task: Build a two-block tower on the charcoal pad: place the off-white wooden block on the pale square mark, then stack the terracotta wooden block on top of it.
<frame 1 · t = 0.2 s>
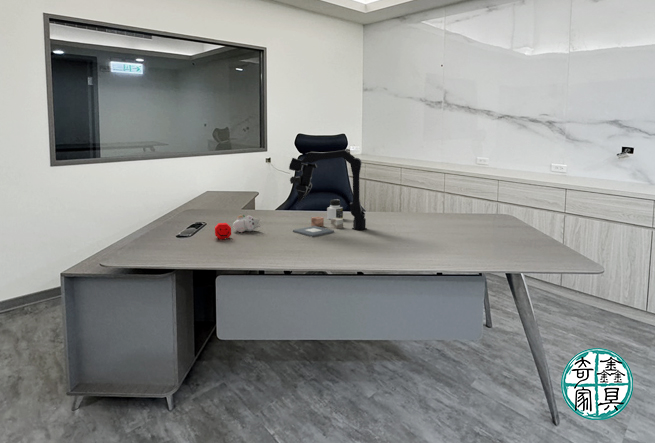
hand: (300, 200, 280), 15 cm above the table, tool pointing down, fingers open, 9 cm apart
off-white block: (336, 227, 284), on the table
ball: (223, 238, 257), on the table
blueprint pad: (313, 232, 271), on the table
medicine bottle: (334, 219, 307), on the table
terracotta block: (317, 226, 287), on the table
cat figurine: (246, 231, 272), on the table
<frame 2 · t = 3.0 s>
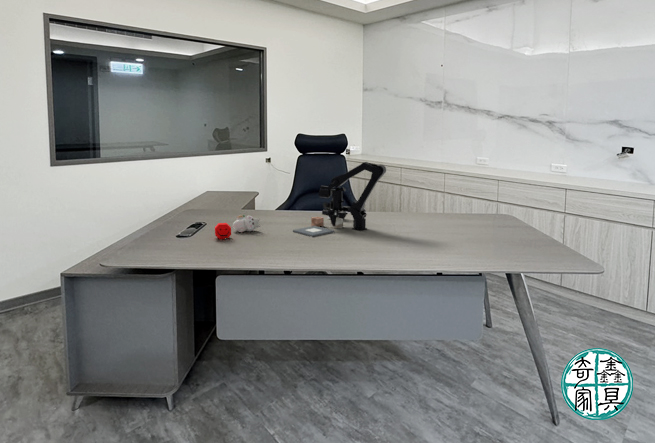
hand: (336, 225, 283), 1 cm above the table, tool pointing down, fingers closed on off-white block, 5 cm apart
off-white block: (336, 227, 284), on the table, touching gripper
everything else where it was.
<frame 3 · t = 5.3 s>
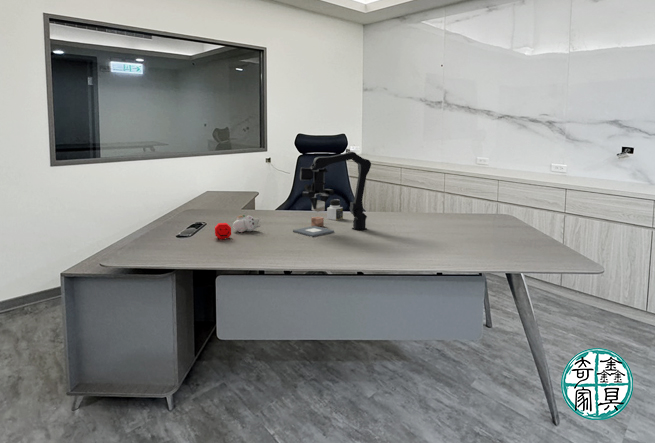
hand: (318, 208, 272), 12 cm above the table, tool pointing down, fingers closed on off-white block, 5 cm apart
off-white block: (318, 210, 272), point 11 cm above the table, touching gripper
everything else where it was.
when the fingers open (3 cm above the table, at t = 7.6 s): off-white block drops 1 cm, resting on blueprint pad.
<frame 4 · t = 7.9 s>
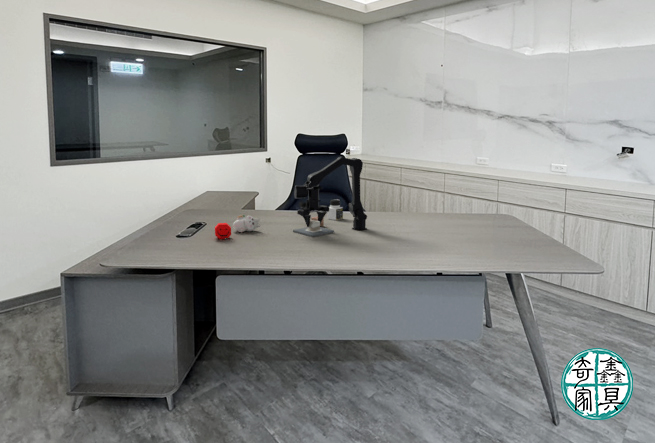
hand: (313, 225, 271), 3 cm above the table, tool pointing down, fingers open, 8 cm apart
off-white block: (313, 230, 271), point 1 cm above the table, touching blueprint pad
everything else where it was.
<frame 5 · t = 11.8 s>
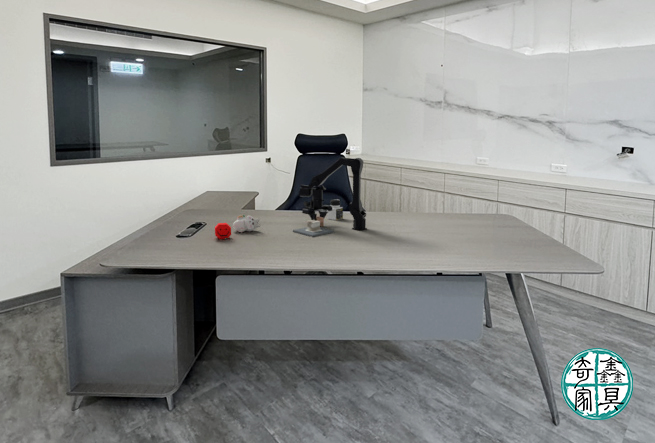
hand: (317, 224, 286), 1 cm above the table, tool pointing down, fingers closed on terracotta block, 5 cm apart
terracotta block: (317, 225, 287), on the table, touching gripper
everything else where it was.
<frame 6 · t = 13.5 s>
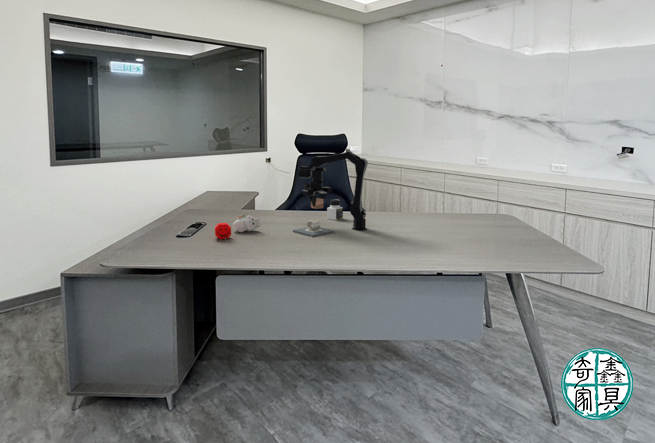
hand: (317, 205, 283), 12 cm above the table, tool pointing down, fingers closed on terracotta block, 5 cm apart
terracotta block: (317, 207, 283), point 11 cm above the table, touching gripper
everything else where it was.
when the fingers open (8 cm above the table, at t = 15.6 s): terracotta block stays where it is, resting on off-white block.
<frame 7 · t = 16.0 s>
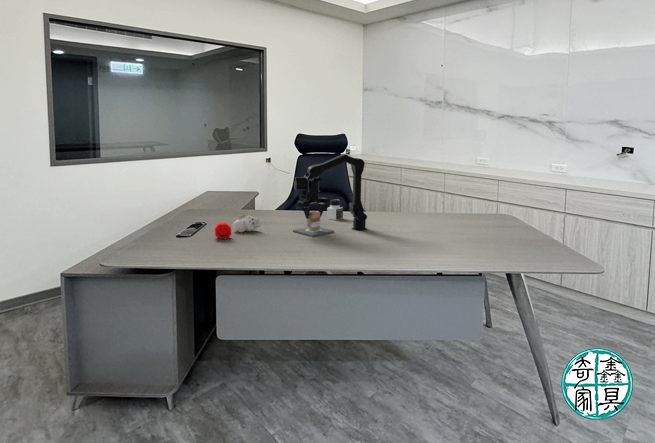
hand: (313, 217, 270), 8 cm above the table, tool pointing down, fingers open, 9 cm apart
off-white block: (313, 230, 271), point 1 cm above the table, touching blueprint pad, terracotta block
terracotta block: (313, 221, 270), point 6 cm above the table, touching off-white block
everything else where it was.
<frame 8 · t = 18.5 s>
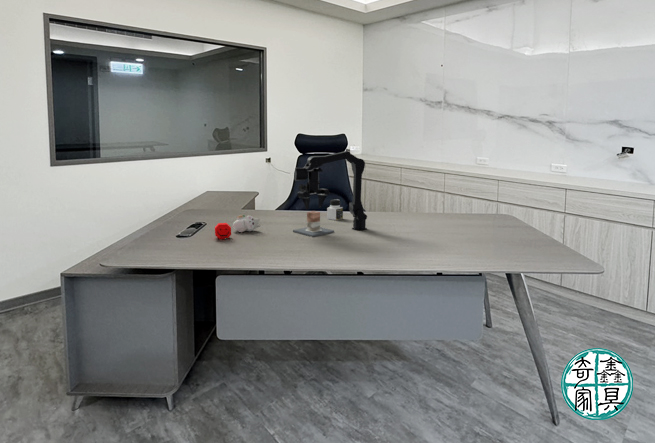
hand: (313, 208, 269), 13 cm above the table, tool pointing down, fingers open, 9 cm apart
nothing on the table moved.
at the end: off-white block 0.1 cm off-centre on the blueprint pad, point 1.1 cm above the blueprint pad's base; terracotta block 0.0 cm off-centre on the blueprint pad, point 6.1 cm above the blueprint pad's base; the gripper is holding nothing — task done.
